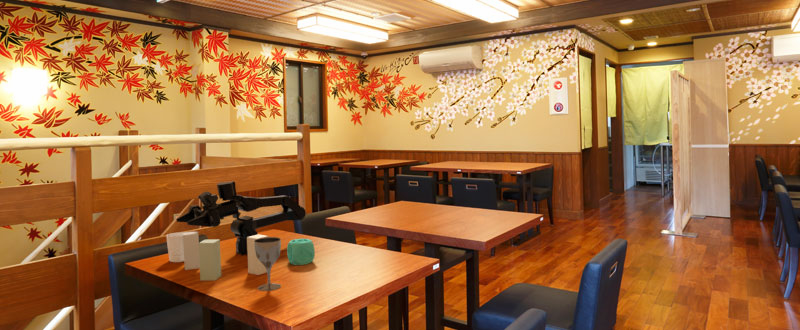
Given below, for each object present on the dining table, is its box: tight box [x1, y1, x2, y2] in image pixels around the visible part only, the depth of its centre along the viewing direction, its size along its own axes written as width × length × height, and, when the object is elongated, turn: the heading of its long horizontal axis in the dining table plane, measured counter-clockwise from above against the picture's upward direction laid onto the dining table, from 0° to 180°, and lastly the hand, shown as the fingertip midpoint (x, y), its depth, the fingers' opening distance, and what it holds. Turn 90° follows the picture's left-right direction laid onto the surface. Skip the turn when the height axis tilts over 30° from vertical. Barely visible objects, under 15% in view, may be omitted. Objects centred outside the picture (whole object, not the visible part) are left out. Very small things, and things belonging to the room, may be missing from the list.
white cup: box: [165, 231, 184, 263], centre depth 190 cm, size 8×8×10 cm
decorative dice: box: [286, 238, 316, 266], centre depth 184 cm, size 8×8×8 cm
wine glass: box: [254, 236, 282, 292], centre depth 155 cm, size 8×8×15 cm
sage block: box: [199, 238, 222, 281], centre depth 166 cm, size 5×5×12 cm
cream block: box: [247, 233, 269, 276], centre depth 172 cm, size 5×5×12 cm
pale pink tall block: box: [182, 230, 200, 271], centre depth 180 cm, size 5×5×12 cm
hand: (182, 221), depth 181 cm, fingers open, 9 cm apart
